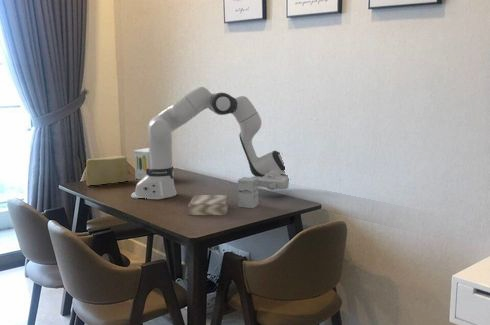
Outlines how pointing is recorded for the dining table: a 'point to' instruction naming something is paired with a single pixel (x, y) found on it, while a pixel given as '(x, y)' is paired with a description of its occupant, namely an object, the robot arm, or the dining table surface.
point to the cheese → (106, 170)
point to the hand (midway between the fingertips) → (259, 185)
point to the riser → (208, 205)
